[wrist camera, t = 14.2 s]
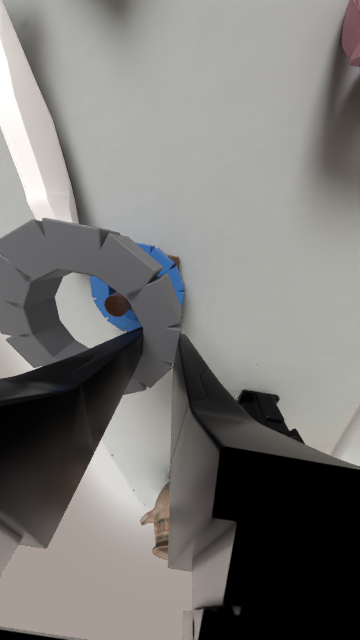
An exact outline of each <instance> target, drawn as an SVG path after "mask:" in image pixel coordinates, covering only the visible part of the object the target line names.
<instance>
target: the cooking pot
mask: <svg viewBox="0 0 360 640" xmlns="http://www.w3.org/2000/svg"><path fill="white" fill-rule="evenodd" d="M169 503H170V482H169V483H168V484H167V485H165V486H164V488H163V489H162V490H161V492H160V494H159V496H158V498H157V501H156V504H155V508H154V509H153V510H151V511H150V512H148V513H146V514H145V515H144V516H143V517H142V518H141V520H140V523H141V525H145V524H147V523H154V531H155V540H156V546H155V547H154V548H153V550H152V553H153V554H154V555H156V556H158V557H160V558H163V559H165V560H168V542H169Z"/></svg>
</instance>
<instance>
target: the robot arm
mask: <svg viewBox="0 0 360 640" xmlns="http://www.w3.org/2000/svg"><path fill="white" fill-rule="evenodd" d="M142 346H143V327H139V328H136V329H134V330H132V331H129V332H127V333H125V334H123V335H120V336H118V337H116V338H113V339H111V340H109V341H106V342H104V343H102V344H99V345H97V346H95V347H93V348H90V349H88V350H86V351H83V352H81V353H78V354H76V355H73V356H71V357H68V358H65V359H63V360H60V361H57V362H54V363H52V364H49V365H46V366H43V367H40V368H38V369H35V370H32V371H29V372H26V373H24V374H20V375H17V376H13V377H8V378H2V379H0V576H1V574H2V572H3V571H4V569H5V567H6V566H7V564H8V562H9V561H10V559H11V557H12V555H13V553H14V552H15V550H16V548H17V547H18V545H25V546H31V547H38V548H44V549H45V548H47V547H48V545H49V543H50V541H51V539H52V537H53V535H54V533H55V531H56V529H57V527H58V525H59V523H60V521H61V519H62V517H63V515H64V513H65V511H66V509H67V507H68V505H69V503H70V501H71V499H72V497H73V495H74V493H75V491H76V489H77V487H78V485H79V483H80V481H81V479H82V477H83V475H84V473H85V471H86V469H87V466H88V465H89V463H90V461H91V459H92V457H93V455H94V452H95V450H96V448H97V446H98V444H99V442H100V440H101V438H102V436H103V434H104V432H105V430H106V428H107V426H108V424H109V422H110V420H111V418H112V416H113V414H114V412H115V410H116V408H117V406H118V404H119V402H120V400H121V398H122V396H123V394H124V392H125V390H126V388H127V386H128V384H129V382H130V380H131V378H132V376H133V374H134V372H135V370H136V368H137V366H138V364H139V361H140V358H141V355H142ZM279 399H280V398H279V397H278V396H277V395H272V394H266V393H260V392H254V391H248V390H243V391H242V393H241V395H240V397H239V399H238V401H236V400H235V399H234V398H233V397H232V396H231V395H230V393H229V392H228V391H227V390H226V389H225V388H224V386H223V385H222V384H221V383H220V382H219V381H218V379H217V378H216V377H215V375H214V374H213V373H212V371H211V370H210V368H209V367H208V366H207V364H206V363H205V361H204V360H203V359H202V357H201V356H200V354H199V353H198V351H197V350H196V349H195V347H194V346H193V344H192V343H191V342H190V340H189V339H188V337H187V336H186V335H185V334H180V338H179V339H178V344H177V349H176V354H175V359H174V365H173V387H172V426H171V466H170V503H169V542H168V568H172V569H178V570H184V571H191V572H192V611H184V612H183V638H182V640H360V466H357V465H353V464H351V463H348V462H345V461H342V460H340V459H337V458H334V457H332V456H330V455H327V454H325V453H323V452H320V451H318V450H316V449H314V448H312V447H309V446H307V445H305V443H304V442H303V440H302V438H301V437H300V435H299V433H298V431H297V430H296V429H292V430H291V431H289V429H288V427H287V426H286V424H285V422H284V418H283V416H282V414H281V412H280V410H279V409H278V407H277V405H276V404H277V402H278V401H279ZM0 640H86V639H79V638H73V637H66V636H59V635H52V634H46V633H39V632H33V631H26V630H19V629H13V628H6V627H0Z"/></svg>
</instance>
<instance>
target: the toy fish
mask: <svg viewBox="0 0 360 640" xmlns="http://www.w3.org/2000/svg"><path fill="white" fill-rule="evenodd" d="M0 126H1V129H2V132H3V135H4V137H5V140H6V142H7V145H8V147H9V150H10V153H11V155H12V158H13V160H14V163H15V165H16V168H17V171H18V174H19V177H20V179H21V182H22V185H23V187H24V190H25V193H26V199H27V202H28V204H29V206H30V208H31V210H32V212H33V214H34V216H35V218H36V220H39V221H42V218H49V219H55V220H60V221H66V222H71V223H77V224H79V222H78V215H77V210H76V203H75V199H74V194H73V190H72V186H71V183H70V179H69V175H68V172H67V168H66V164H65V161H64V157H63V154H62V151H61V147H60V143H59V140H58V136H57V133H56V129H55V126H54V122H53V119H52V117H51V115H50V113H49V110H48V108H47V106H46V103H45V101H44V99H43V97H42V94H41V92H40V90H39V87H38V85H37V83H36V80H35V78H34V76H33V73H32V71H31V68H30V66H29V64H28V61H27V59H26V56H25V54H24V52H23V49H22V47H21V44H20V42H19V40H18V37H17V35H16V32H15V30H14V28H13V25H12V23H11V20H10V18H9V16H8V13H7V11H6V8H5V6H4V4H3V1H2V0H0Z"/></svg>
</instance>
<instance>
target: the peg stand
mask: <svg viewBox="0 0 360 640" xmlns="http://www.w3.org/2000/svg"><path fill="white" fill-rule="evenodd" d="M167 256H168V257H169V258H170V259H171V260H173V261H174V262H175V264H174V265H173V267H175V266H178V263H179V257H175V256H170V255H167ZM173 267H172V268H173ZM157 277H158V276H157ZM104 306H105V309H106V311H107V312H108V313H109V314H110V315H112V316H114V317H121V316H123V315H124V314H125V313H127V312H128V311H129V310H131V311H132V312H134V310H133V309H132V307H131V305H130V303H129V301H128V299H126V298H125V297H124V296H122V295H121V294H120V293H118V292H116V293H114V294H112V295H110V296H109V297H107V298H106V299H105V302H104ZM134 313H135V312H134ZM109 317H110V316H109Z"/></svg>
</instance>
